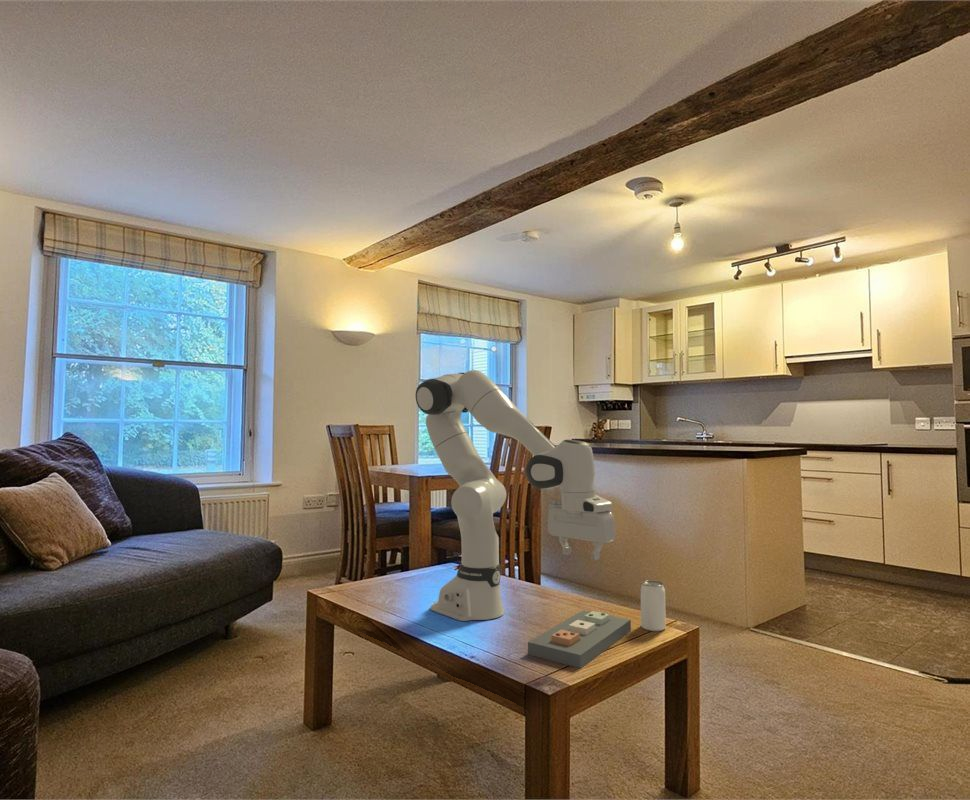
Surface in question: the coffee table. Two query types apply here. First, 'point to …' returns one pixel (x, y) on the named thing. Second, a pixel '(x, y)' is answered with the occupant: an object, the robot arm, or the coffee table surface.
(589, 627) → the one dot button
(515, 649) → the coffee table surface
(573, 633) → the three dot button
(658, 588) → the can
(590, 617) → the two dot button
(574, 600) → the coffee table surface
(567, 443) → the robot arm
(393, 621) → the coffee table surface
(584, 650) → the button board
